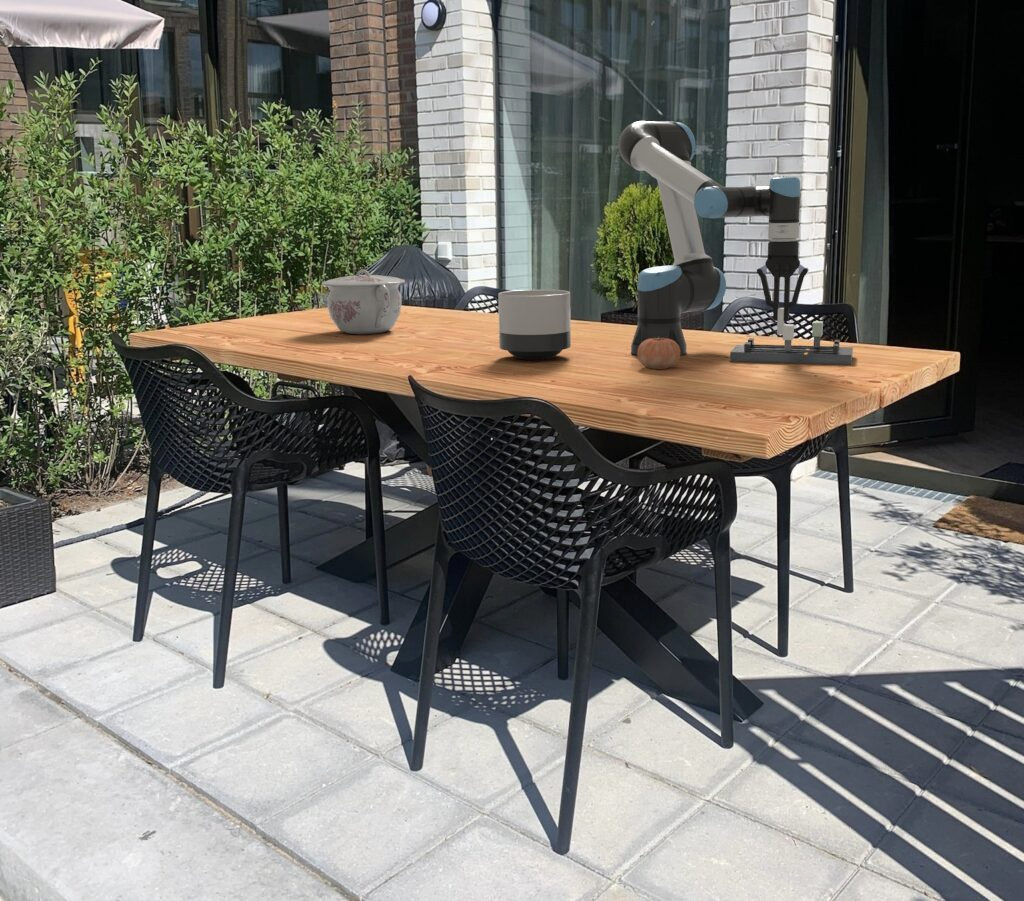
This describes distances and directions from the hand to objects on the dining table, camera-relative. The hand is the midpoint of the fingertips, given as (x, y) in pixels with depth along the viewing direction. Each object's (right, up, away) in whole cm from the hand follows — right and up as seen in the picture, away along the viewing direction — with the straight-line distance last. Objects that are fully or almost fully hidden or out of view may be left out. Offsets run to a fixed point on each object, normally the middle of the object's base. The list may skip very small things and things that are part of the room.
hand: (780, 333), depth 277 cm
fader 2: (+11, -3, +6) cm, 13 cm away
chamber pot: (-117, +9, +82) cm, 143 cm away
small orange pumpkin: (-32, -9, -5) cm, 34 cm away
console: (+4, -6, +4) cm, 8 cm away
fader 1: (+2, -4, +1) cm, 5 cm away
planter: (-63, -5, +16) cm, 65 cm away
